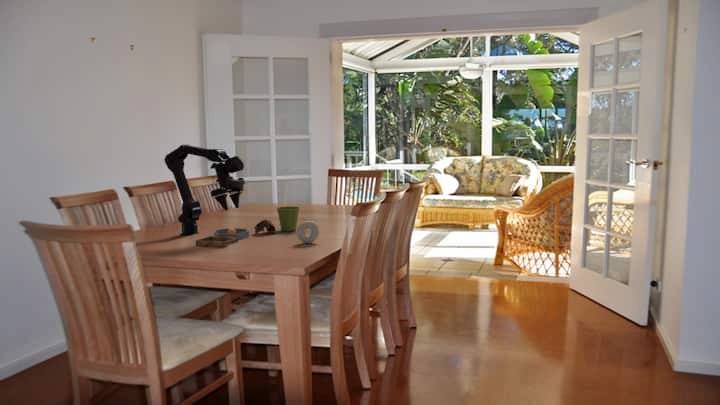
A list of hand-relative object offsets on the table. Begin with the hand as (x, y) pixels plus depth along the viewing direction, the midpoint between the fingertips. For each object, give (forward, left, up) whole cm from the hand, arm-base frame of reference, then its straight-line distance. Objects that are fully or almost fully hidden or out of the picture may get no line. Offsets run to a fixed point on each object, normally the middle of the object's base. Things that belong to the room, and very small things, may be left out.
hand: (232, 209), depth 272 cm
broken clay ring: (+10, +14, -14) cm, 22 cm away
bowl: (0, 0, -13) cm, 13 cm away
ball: (0, 0, -13) cm, 13 cm away
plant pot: (+15, +28, -13) cm, 34 cm away
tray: (+2, -15, -13) cm, 20 cm away
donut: (+38, 0, -13) cm, 40 cm away
